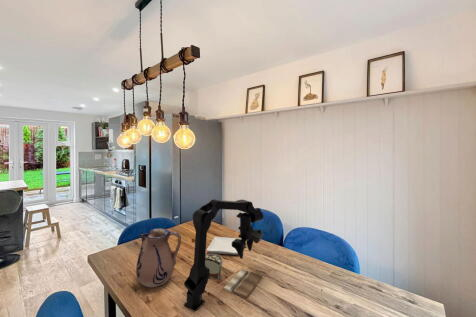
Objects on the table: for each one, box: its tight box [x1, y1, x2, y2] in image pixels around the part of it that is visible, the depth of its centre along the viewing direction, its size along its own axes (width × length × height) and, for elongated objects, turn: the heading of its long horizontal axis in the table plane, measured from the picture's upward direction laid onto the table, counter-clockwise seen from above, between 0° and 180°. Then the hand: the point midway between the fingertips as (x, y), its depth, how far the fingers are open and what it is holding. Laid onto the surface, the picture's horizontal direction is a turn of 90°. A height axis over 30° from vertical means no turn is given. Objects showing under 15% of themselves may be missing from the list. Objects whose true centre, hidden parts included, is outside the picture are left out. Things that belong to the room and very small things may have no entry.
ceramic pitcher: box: [135, 227, 182, 288], centre depth 108 cm, size 18×21×25 cm
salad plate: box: [206, 236, 239, 256], centre depth 145 cm, size 21×21×3 cm
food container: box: [205, 253, 224, 281], centre depth 114 cm, size 12×6×10 cm, turn 59°
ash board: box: [223, 268, 249, 293], centre depth 109 cm, size 18×4×1 cm, turn 151°
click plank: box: [232, 271, 264, 299], centre depth 106 cm, size 18×7×1 cm, turn 151°
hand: (245, 254), depth 111 cm, fingers open, 9 cm apart
